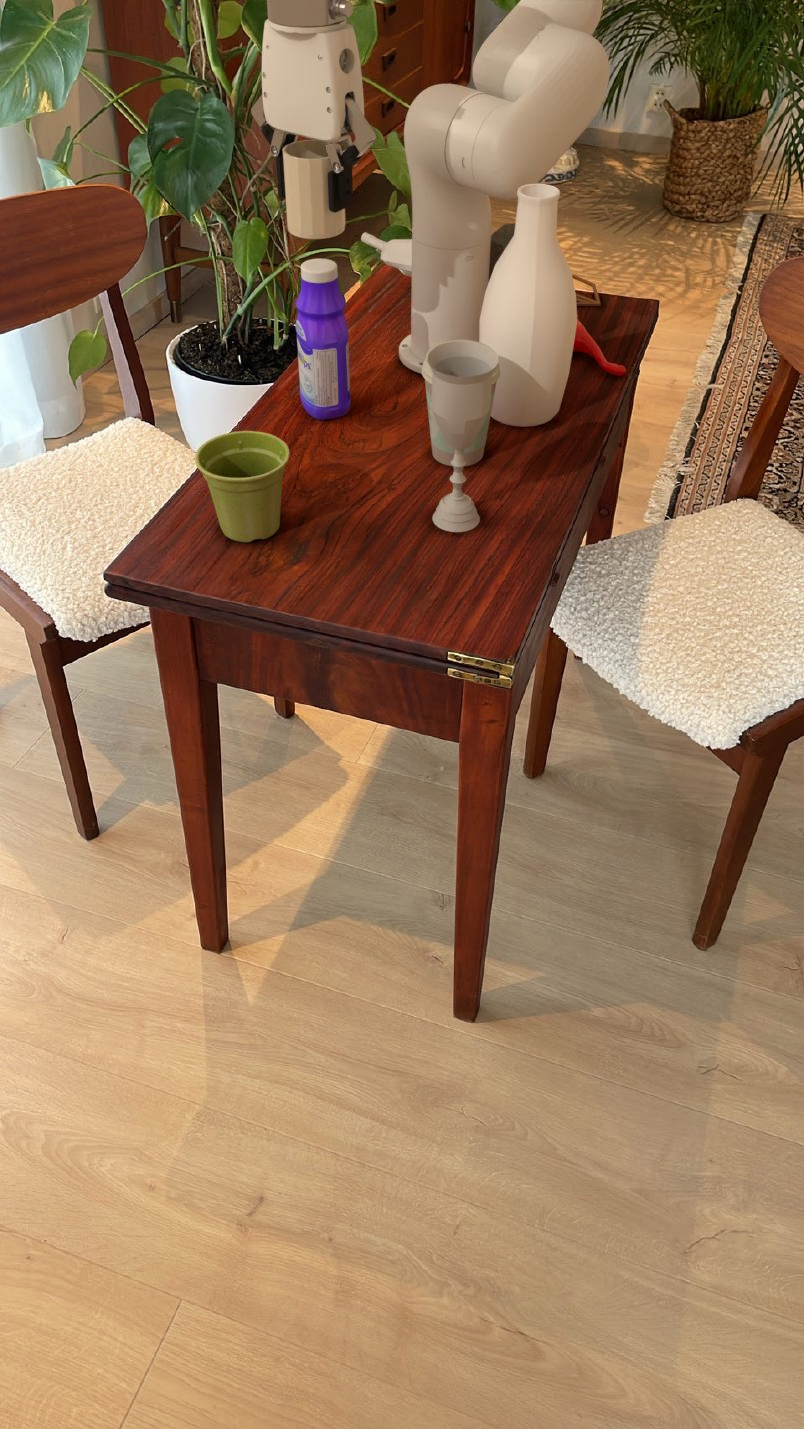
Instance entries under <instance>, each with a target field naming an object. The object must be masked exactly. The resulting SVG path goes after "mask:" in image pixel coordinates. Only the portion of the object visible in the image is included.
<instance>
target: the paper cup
mask: <svg viewBox="0 0 804 1429" xmlns="http://www.w3.org/2000/svg"><path fill="white" fill-rule="evenodd" d="M337 145H338V148H339V151H340V154H341V155H342V154H343V152H342V149H341V146H340V143H337ZM282 152H283V168H284V184H285V198H284V200H285V213H286V214H285V217H286V226H287V228H286V229H287V232H288V233H289V234H291V236H294V237H297V238H301V239H306V240H324V239H330V238H334V237H337V236H339V235H340V234H343V232H345V229H346V208H345V209H342V210H340V211H338V212H336V213H335V212H331V211H330V209H329V197H328V172H330V171H332V170H333V169H332V166H331V163H330V160H329V157H328V154H327V150H326V147H325V144H324V142H322V141H317V140H313V139H304V140H297V142H293V143H290V144H288V145H286V146H285V147H284V148H283V149H282Z"/></svg>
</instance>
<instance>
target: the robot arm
mask: <svg viewBox="0 0 804 1429" xmlns="http://www.w3.org/2000/svg"><path fill="white" fill-rule="evenodd" d="M266 7H267V8H266V9H267V19H266V20H265V21H264V25H263V35H262V48H261V49H262V50H261V93H262V94H261V95H260V96H259V98H258V99H257V100H256V102H255V103H254V104H253V105H252V106H251V108H250V112H251V113H250V114H251V116H252V117H253V119H254V121H255V122H256V124H257V125H258V127H259V128H260V129H261V134H262V135H263V137H264V138H265V140H266V142H267V143H268V145H269V146H270V147H269V152H270V154H271V156H272V157H274V158H275V163H276V177H277V178H276V179H277V194H278V197H279V198H282V199H285V184H284V168H283V152H282V149H283V148H284V147H285V146H286V145H288V144H290V143H293V142H297V141H298V138H299V137H301V138H306V139H308V140H317V141H322V142H324V144H325V147H326V150H327V154H328V157H329V160H330V163H331V166H332V169H333V170H332V171H330V172H328V197H329V209H330V211H331V212H335V213H336V212H338V211H340V210H342V209H345V210H346V209H347V208H349V207H351V206H352V205H353V202H354V201H353V200H354V199H353V197H354V193H353V192H354V189H353V187H354V185H353V184H354V182H353V168H354V167H356V166H357V165H358V162H359V161H360V160H361V159H362V157H363V156H364V155H366V152H367V151H368V150H369V148H371V146H372V145H373V144H374V143H375V142H376V140H377V135H376V132H375V131H374V130H373V128H372V127H371V124H369V122H368V120H367V119H366V117H365V98H364V87H363V84H364V83H363V74H362V65H361V58H360V52H359V46H358V41H357V37H356V33H355V32H356V31H355V28H354V25H353V24H350V23H347V18H350V17H351V16H352V15H353V12H354V3H353V2H352V1H350V0H266ZM602 11H603V0H520V1H518V3H517V4H516V5H515V6H514V7H513V8H512V9H511V11H510V12H509V13H508V14H507V15H506V16H505V17H504V19H503V20H501V21H500V23H499V24H498V25H497V26H496V27H495V29H494V30H493V31H492V32H491V33H490V34H489V35H488V37H487V38H486V39H485V40H484V42H483V43H482V44H481V46H480V47H479V50H478V51H477V53H476V55H475V58H474V60H473V64H472V82H473V85H474V87H475V88H471V87H467V86H465V85H464V86H463V85H461V84H454V83H439V84H433V85H431V86H429V87H427V88H425V89H424V90H422V91H420V93H418V95H417V96H416V97H415V98H414V99H413V101H412V102H411V104H410V106H409V108H408V110H407V113H406V116H405V121H404V127H403V142H404V143H403V144H404V151H405V158H406V163H407V164H406V165H407V169H408V174H409V182H410V192H411V214H412V215H411V220H412V221H411V239H412V277H411V296H410V297H411V298H410V299H411V301H410V302H411V303H410V304H411V305H410V306H411V308H410V310H411V313H410V334H409V335H407V336H405V337H404V338H403V339H402V341H401V342H400V343H399V346H398V358H399V360H400V362H401V363H402V364H403V365H404V366H405V367H406V368H408V369H409V370H411V371H412V372H415V373H418V374H420V375H422V372H421V371H422V367H423V362H424V360H425V359H426V356H427V353H428V351H429V349H430V348H431V347H433V346H434V345H436V344H438V343H441V342H445V341H450V340H471V341H476V342H479V320H480V315H481V311H482V306H483V301H484V296H485V292H486V289H487V286H488V280H489V262H490V244H491V235H492V234H493V213H492V204H491V200H490V197H492V198H496V199H499V200H514V199H518V196H517V191H518V188H520V187H521V186H524V185H528V184H539V183H540V181H542V179H543V178H544V177H545V176H546V175H547V174H548V173H549V171H550V170H551V169H552V168H553V167H554V166H555V164H557V162H558V161H559V160H560V159H561V158H562V157H563V156H564V154H565V153H566V152H567V151H568V150H569V149H570V148H571V146H572V145H573V144H574V143H575V142H576V141H577V140H578V138H579V137H580V136H581V135H582V134H583V133H584V132H585V131H586V130H587V128H588V127H589V125H590V124H591V123H592V121H593V120H594V119H595V117H596V116H597V114H598V113H599V110H600V109H601V107H602V104H603V102H604V99H605V97H606V93H607V91H608V87H609V86H608V85H609V81H610V75H611V74H610V71H611V70H610V69H611V68H610V61H609V57H608V55H607V51H606V49H605V48H604V46H603V45H602V43H601V42H600V41H598V39H597V38H596V37H594V36H593V33H594V32H595V30H596V29H597V27H598V25H599V23H600V20H601V17H602ZM351 135H354V140H353V141H352V137H351ZM337 144H339V145H340V146H341V149H342V152H343V154H342V155H341V154H340V151H339V148H338V145H337Z"/></svg>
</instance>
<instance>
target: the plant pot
mask: <svg viewBox="0 0 804 1429" xmlns="http://www.w3.org/2000/svg"><path fill="white" fill-rule="evenodd" d="M289 459H290V449H289V446H288V444H287V443H286V442H285V441H284V440H282V439H281V438H279V437H278V436H276V435H274V434H271V433H267V432H263V431H254V430H237V431H232V432H227V433H223V434H219V435H217V436H214V437H212V438H210V439H208V440H207V441H205V442H204V443H202V445H200V446H199V447H198V449H197V450H196V452H195V456H194V461H195V462H194V463H195V465H196V468H197V469H198V471H199V472H200V473H202V477H203V479H205V482H206V483H207V486H208V489H209V492H210V496H211V499H212V502H213V507H214V509H215V513H216V516H217V519H218V523H219V527H220V529H221V532H222V533H223V535H224V536H225V537H226V538H228V539H230V540H232V541H235V542H240V543H251V542H253V541H256V540H266V539H269V538H270V537H272V536H273V535H275V534H276V533H277V531H278V530H279V528H280V523H281V506H282V489H283V475H284V474H285V470H286V465H287V464H288V462H289Z"/></svg>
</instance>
